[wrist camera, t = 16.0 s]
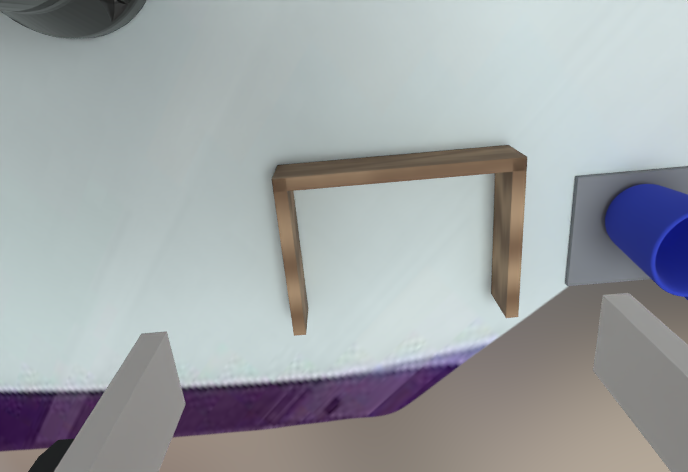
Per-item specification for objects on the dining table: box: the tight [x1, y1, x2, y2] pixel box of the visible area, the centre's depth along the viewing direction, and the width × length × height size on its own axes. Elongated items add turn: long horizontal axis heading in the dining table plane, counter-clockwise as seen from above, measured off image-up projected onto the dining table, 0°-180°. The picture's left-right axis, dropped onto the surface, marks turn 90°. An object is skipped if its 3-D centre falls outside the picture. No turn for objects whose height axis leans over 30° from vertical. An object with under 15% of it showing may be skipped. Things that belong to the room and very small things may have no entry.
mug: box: [605, 184, 688, 300], centre depth 46 cm, size 8×12×10 cm
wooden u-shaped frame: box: [272, 145, 527, 336], centre depth 49 cm, size 16×22×5 cm
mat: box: [565, 166, 688, 286], centre depth 51 cm, size 12×12×1 cm
